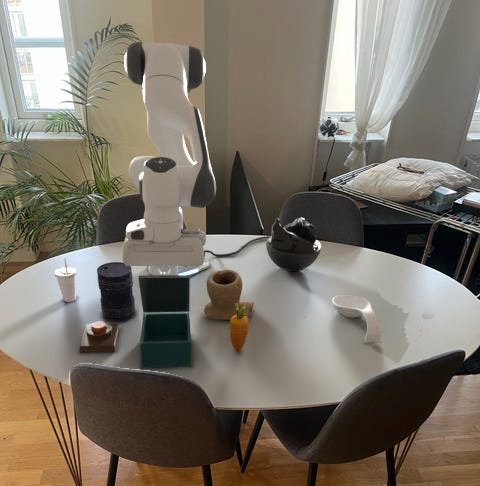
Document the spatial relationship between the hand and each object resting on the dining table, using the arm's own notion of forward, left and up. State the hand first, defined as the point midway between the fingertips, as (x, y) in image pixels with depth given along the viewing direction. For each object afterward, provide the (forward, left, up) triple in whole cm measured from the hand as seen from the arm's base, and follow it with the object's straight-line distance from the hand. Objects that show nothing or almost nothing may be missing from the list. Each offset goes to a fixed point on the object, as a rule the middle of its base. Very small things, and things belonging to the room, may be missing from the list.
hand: (164, 279), depth 120 cm
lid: (0, +1, -4) cm, 4 cm away
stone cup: (-23, 0, -20) cm, 30 cm away
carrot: (-13, +16, -20) cm, 28 cm away
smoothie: (+11, -38, -20) cm, 45 cm away
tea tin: (+2, +4, -19) cm, 20 cm away
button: (+14, -11, -16) cm, 24 cm away
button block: (+14, -11, -19) cm, 27 cm away
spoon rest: (-53, +26, -20) cm, 62 cm away
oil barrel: (+3, -21, -20) cm, 29 cm away
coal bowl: (-64, -13, -20) cm, 68 cm away
